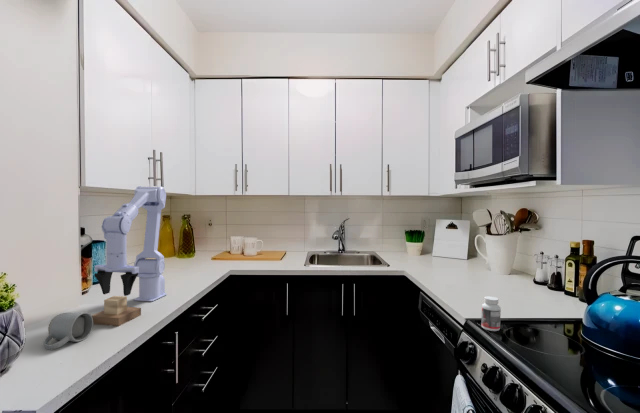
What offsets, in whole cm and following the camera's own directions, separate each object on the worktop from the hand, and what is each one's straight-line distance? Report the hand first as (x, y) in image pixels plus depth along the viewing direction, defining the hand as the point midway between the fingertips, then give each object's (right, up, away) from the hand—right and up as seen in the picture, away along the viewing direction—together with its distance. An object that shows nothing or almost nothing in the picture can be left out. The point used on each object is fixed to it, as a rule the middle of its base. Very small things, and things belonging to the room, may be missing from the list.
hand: (116, 294), depth 110 cm
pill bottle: (+121, -11, -2) cm, 122 cm away
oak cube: (0, -6, 0) cm, 6 cm away
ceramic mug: (-4, -9, -17) cm, 19 cm away
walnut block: (0, -9, 0) cm, 9 cm away
